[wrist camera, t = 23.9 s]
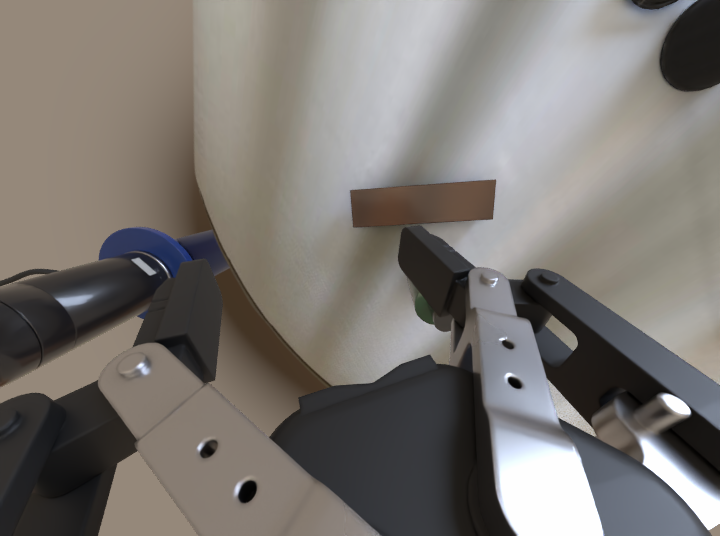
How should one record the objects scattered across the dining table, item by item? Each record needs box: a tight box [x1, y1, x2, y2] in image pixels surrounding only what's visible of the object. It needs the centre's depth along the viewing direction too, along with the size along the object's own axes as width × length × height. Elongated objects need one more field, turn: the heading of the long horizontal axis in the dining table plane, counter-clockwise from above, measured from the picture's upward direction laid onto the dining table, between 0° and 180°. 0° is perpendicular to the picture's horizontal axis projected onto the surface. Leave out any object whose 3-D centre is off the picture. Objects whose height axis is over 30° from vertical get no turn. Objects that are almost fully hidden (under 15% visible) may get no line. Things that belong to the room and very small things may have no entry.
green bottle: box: [407, 277, 453, 332], centre depth 33 cm, size 5×5×14 cm
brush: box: [350, 180, 496, 227], centre depth 34 cm, size 18×5×4 cm, turn 94°
